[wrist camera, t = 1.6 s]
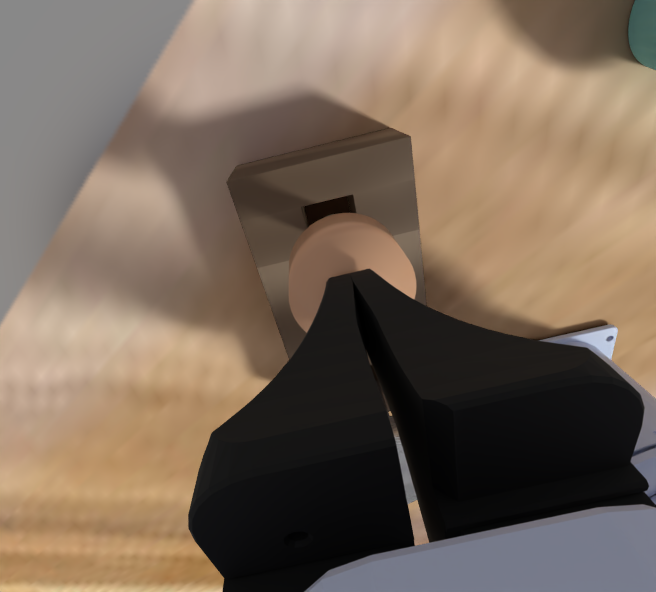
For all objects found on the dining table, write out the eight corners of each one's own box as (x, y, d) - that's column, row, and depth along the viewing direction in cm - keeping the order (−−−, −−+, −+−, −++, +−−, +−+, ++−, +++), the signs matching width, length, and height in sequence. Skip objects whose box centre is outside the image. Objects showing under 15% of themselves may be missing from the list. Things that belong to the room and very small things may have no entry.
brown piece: (419, 365, 27) (435, 401, 24) (311, 389, 27) (313, 428, 24) (390, 127, 18) (410, 136, 15) (236, 166, 19) (226, 181, 16)
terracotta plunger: (382, 258, 18) (421, 331, 12) (301, 277, 18) (306, 357, 13) (369, 174, 16) (409, 219, 10) (278, 196, 16) (272, 252, 11)
